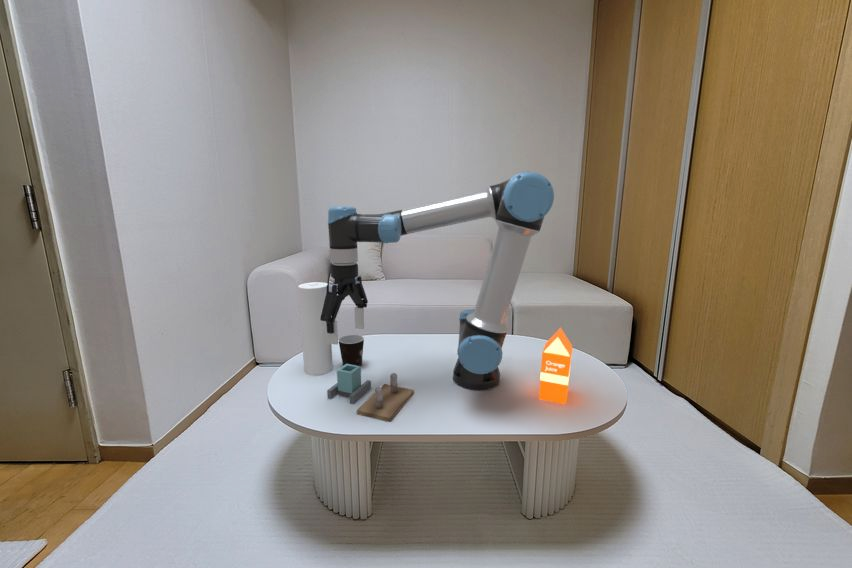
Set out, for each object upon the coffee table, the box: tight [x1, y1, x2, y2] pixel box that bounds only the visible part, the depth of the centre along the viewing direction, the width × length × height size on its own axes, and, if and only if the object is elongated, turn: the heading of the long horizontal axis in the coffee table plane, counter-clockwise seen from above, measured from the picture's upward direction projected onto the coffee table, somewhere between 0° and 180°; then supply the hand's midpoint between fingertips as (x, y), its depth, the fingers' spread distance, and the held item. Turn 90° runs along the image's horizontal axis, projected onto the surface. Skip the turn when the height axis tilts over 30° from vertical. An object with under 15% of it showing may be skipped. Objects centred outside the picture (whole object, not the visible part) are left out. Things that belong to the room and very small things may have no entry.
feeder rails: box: [326, 379, 372, 405], centre depth 112 cm, size 9×10×2 cm
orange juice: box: [538, 327, 573, 405], centre depth 109 cm, size 8×9×20 cm
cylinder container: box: [297, 281, 334, 376], centre depth 125 cm, size 9×9×30 cm
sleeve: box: [336, 364, 362, 399], centre depth 111 cm, size 5×5×8 cm
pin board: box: [356, 372, 415, 423], centre depth 106 cm, size 10×16×7 cm, turn 158°
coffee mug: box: [338, 334, 365, 367], centre depth 128 cm, size 12×9×10 cm
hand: (347, 335), depth 108 cm, fingers open, 13 cm apart
